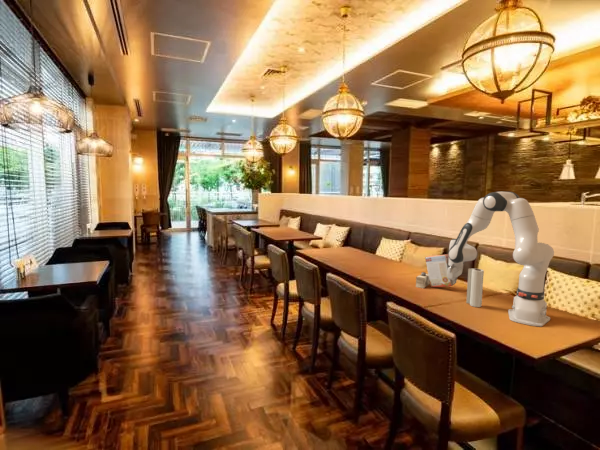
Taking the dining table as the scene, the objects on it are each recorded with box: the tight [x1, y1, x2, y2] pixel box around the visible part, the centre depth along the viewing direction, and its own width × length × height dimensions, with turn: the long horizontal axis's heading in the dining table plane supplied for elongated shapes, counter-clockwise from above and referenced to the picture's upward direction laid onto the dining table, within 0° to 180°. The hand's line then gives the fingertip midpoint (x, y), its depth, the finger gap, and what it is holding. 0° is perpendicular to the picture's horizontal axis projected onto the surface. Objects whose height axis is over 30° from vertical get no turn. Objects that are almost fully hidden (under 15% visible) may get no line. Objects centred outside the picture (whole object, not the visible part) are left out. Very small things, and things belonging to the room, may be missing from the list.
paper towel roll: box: [465, 268, 485, 308], centre depth 199 cm, size 7×6×21 cm
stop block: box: [415, 271, 430, 289], centre depth 239 cm, size 14×5×9 cm, turn 141°
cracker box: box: [425, 253, 455, 288], centre depth 233 cm, size 14×6×21 cm, turn 45°
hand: (454, 283), depth 227 cm, fingers closed, pressing on cracker box
